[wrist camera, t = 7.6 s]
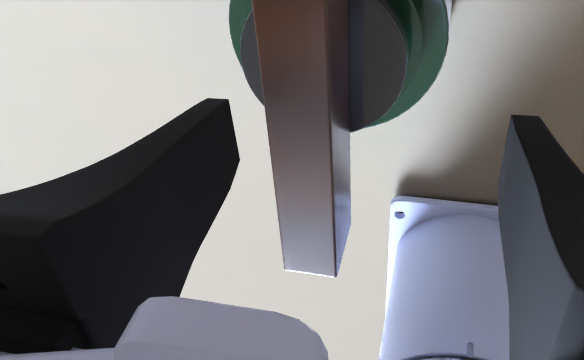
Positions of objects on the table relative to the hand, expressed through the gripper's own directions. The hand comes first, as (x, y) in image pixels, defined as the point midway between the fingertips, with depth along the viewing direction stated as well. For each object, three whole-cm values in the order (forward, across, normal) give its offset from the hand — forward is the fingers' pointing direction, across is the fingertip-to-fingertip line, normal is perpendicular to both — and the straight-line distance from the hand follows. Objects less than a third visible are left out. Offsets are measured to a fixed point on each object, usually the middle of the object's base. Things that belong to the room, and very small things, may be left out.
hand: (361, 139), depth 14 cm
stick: (+4, +2, 0) cm, 5 cm away
